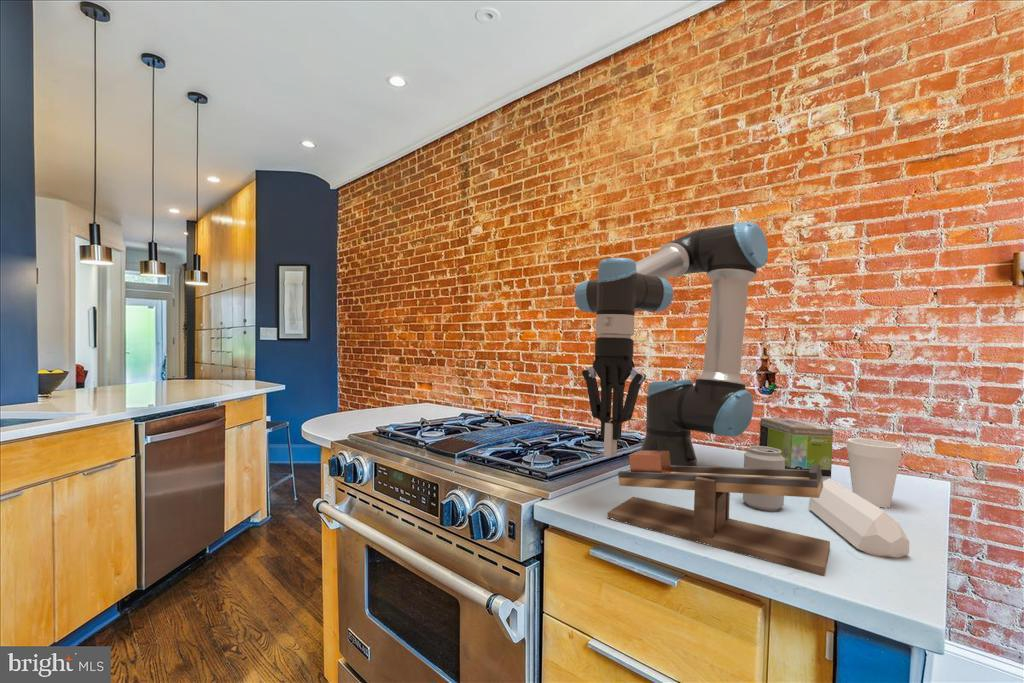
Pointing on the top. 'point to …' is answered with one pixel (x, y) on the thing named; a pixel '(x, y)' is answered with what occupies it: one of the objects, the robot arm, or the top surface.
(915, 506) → the top surface
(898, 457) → the foam cup
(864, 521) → the crystal
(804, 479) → the beam
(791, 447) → the tea box
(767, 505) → the can
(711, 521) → the stand
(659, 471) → the terracotta wooden block
